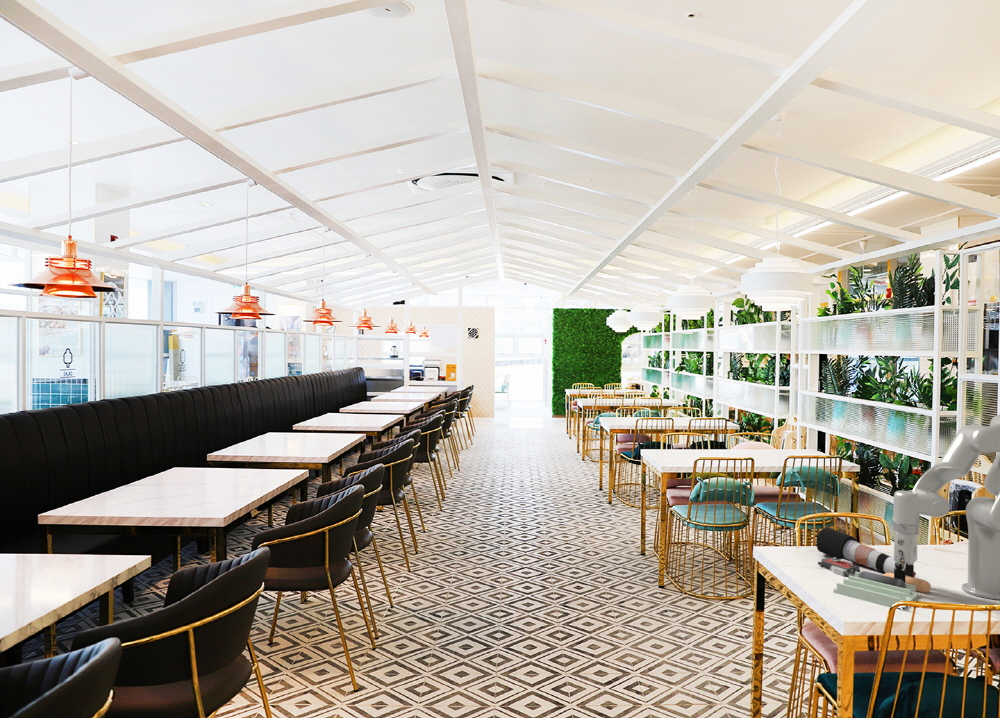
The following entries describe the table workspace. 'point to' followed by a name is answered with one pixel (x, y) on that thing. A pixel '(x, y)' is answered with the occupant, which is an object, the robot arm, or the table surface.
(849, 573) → the walkie-talkie
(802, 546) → the table surface
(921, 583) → the tan capsule
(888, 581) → the gray pill-shaped rod
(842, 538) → the cable
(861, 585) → the rack
